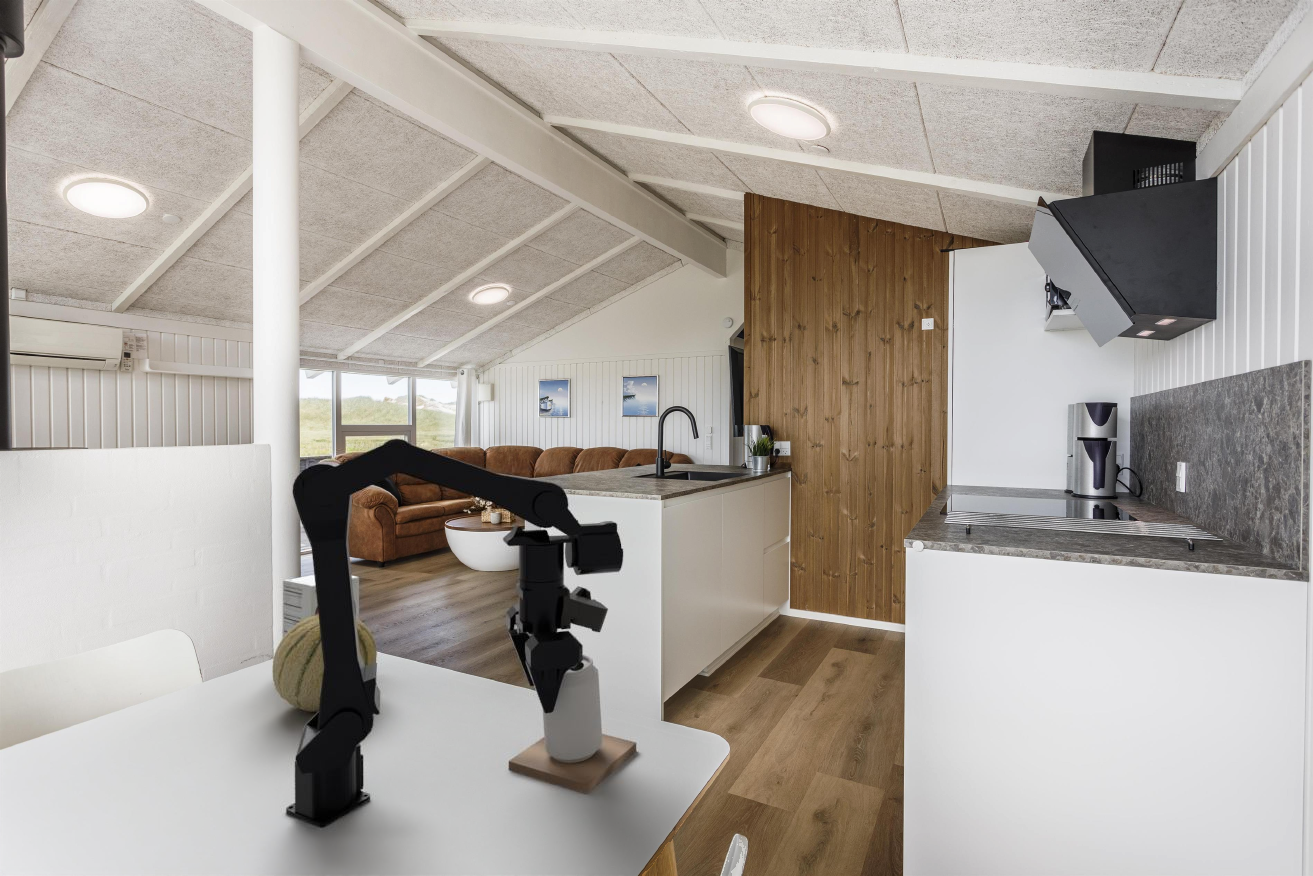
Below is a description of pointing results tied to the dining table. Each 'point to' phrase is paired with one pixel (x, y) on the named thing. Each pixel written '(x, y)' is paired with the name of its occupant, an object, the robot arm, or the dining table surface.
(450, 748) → the dining table surface
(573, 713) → the can
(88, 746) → the dining table surface
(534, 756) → the walnut block
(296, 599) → the supplement box
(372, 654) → the cantaloupe
